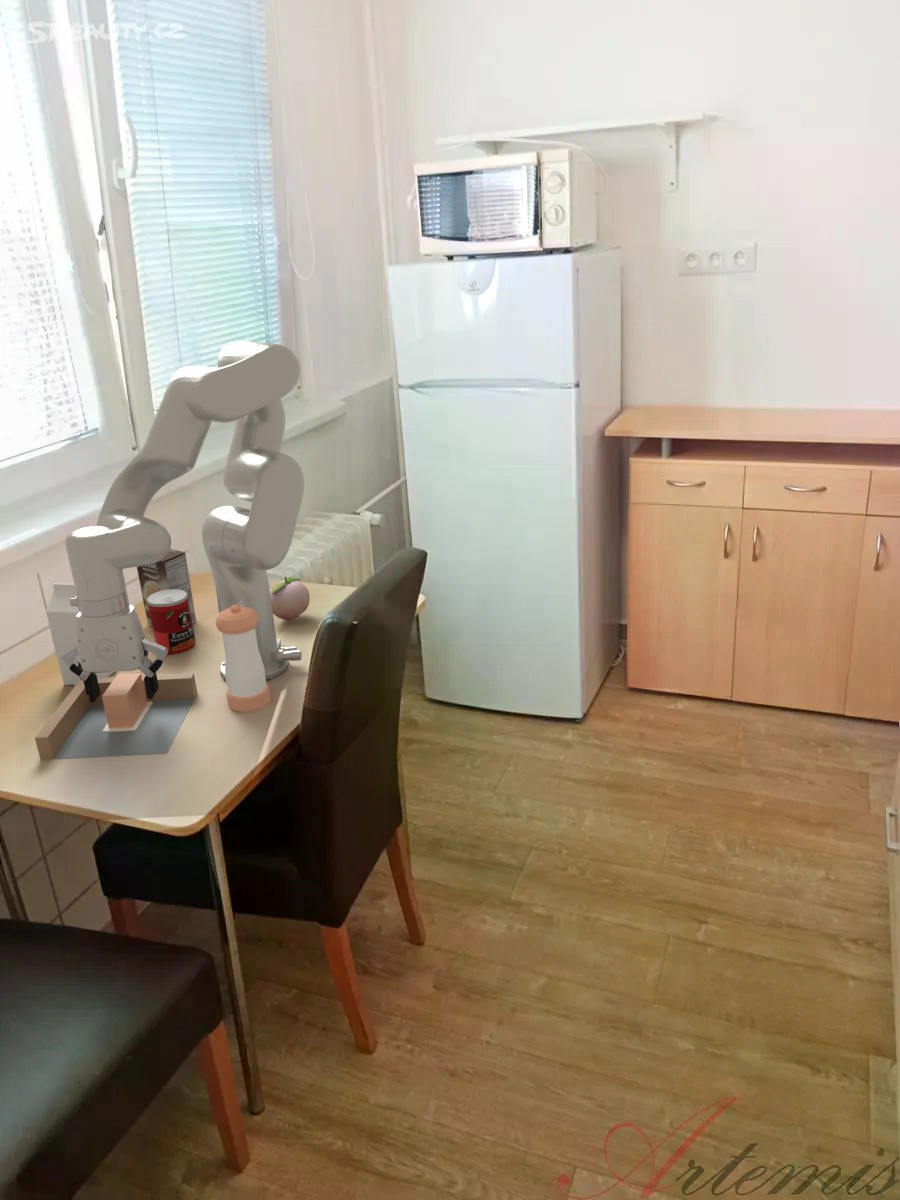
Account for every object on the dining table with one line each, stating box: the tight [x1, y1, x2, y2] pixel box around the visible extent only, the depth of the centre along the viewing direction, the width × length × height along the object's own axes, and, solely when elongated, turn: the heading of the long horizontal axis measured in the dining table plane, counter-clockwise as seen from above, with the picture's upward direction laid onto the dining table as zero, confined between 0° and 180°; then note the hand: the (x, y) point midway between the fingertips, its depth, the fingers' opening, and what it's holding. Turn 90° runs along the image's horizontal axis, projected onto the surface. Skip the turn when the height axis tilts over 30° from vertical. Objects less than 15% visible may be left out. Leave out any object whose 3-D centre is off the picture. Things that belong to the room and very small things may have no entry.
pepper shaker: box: [215, 605, 271, 712], centre depth 156 cm, size 7×7×19 cm
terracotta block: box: [102, 672, 147, 728], centre depth 155 cm, size 8×4×6 cm, turn 1°
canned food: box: [147, 589, 196, 655], centre depth 183 cm, size 8×8×11 cm
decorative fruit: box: [270, 576, 311, 622], centre depth 192 cm, size 9×8×10 cm
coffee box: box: [136, 548, 197, 627], centre depth 193 cm, size 9×6×16 cm
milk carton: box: [45, 583, 115, 686], centre depth 170 cm, size 7×7×19 cm
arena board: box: [34, 672, 198, 761], centre depth 153 cm, size 20×20×5 cm
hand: (124, 696), depth 155 cm, fingers open, 9 cm apart
